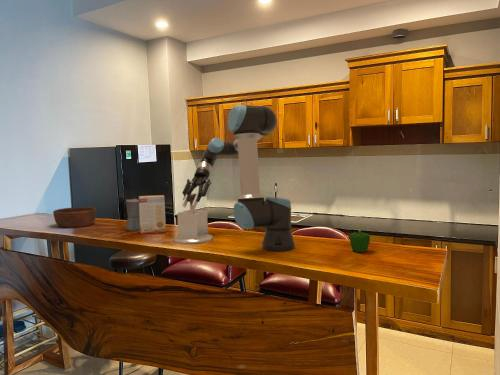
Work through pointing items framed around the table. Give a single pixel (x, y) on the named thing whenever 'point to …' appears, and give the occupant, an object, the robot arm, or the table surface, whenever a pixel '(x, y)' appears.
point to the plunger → (191, 201)
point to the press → (192, 228)
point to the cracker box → (152, 214)
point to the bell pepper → (359, 241)
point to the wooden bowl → (75, 217)
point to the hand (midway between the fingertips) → (188, 206)
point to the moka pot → (132, 214)
